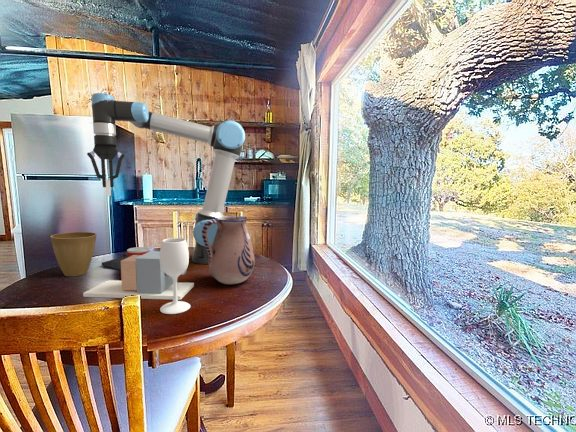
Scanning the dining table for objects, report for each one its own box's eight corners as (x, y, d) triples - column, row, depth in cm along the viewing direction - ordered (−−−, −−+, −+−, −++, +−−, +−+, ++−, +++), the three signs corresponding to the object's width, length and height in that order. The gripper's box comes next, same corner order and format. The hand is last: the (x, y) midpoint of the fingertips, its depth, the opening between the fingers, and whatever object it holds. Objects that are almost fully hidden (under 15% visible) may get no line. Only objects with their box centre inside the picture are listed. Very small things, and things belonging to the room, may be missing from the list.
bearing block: (193, 286, 110) (193, 251, 108) (180, 299, 97) (179, 260, 96) (107, 283, 110) (106, 248, 109) (83, 296, 98) (81, 257, 96)
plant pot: (65, 282, 110) (62, 239, 109) (45, 275, 118) (42, 235, 116) (106, 272, 123) (104, 234, 122) (86, 266, 131) (84, 230, 129)
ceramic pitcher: (263, 279, 119) (264, 217, 116) (224, 295, 101) (224, 222, 99) (231, 271, 129) (231, 213, 126) (191, 284, 111) (190, 218, 108)
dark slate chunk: (95, 268, 130) (94, 257, 130) (135, 256, 151) (135, 247, 151) (122, 272, 126) (122, 261, 125) (160, 259, 146) (160, 250, 146)
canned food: (141, 279, 115) (140, 251, 114) (123, 278, 117) (122, 250, 116) (153, 273, 123) (153, 247, 121) (136, 272, 124) (135, 246, 123)
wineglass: (164, 317, 85) (162, 244, 82) (156, 306, 92) (155, 239, 89) (194, 310, 90) (193, 241, 87) (185, 300, 97) (184, 236, 94)
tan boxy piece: (189, 283, 107) (188, 256, 106) (180, 291, 99) (180, 262, 98) (134, 282, 108) (133, 254, 106) (121, 290, 100) (120, 260, 99)
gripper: (123, 138, 124) (126, 194, 127) (86, 135, 117) (90, 195, 120) (124, 135, 117) (127, 195, 120) (84, 132, 111) (88, 196, 114)
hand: (108, 195), depth 120 cm, fingers closed
